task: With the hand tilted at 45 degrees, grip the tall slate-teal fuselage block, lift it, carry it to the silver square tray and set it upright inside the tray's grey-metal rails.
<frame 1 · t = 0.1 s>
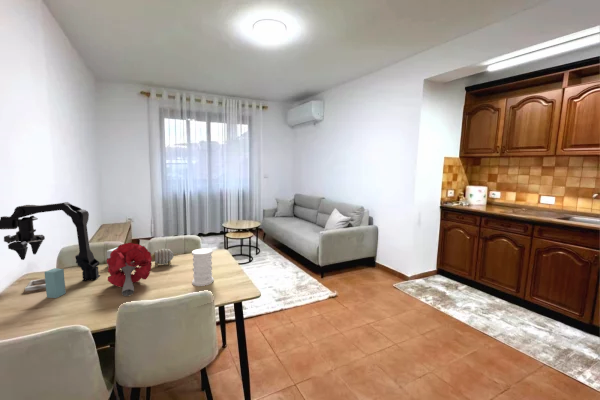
hand: (28, 256, 150), 15 cm above the table, tool pointing down, fingers open, 9 cm apart
decorative container: (203, 282, 158), on the table
fuselage block: (56, 295, 138), on the table
red model tree: (129, 286, 150), on the table
small box: (116, 265, 182), on the table
toy sheep: (163, 265, 183), on the table
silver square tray: (41, 286, 147), on the table
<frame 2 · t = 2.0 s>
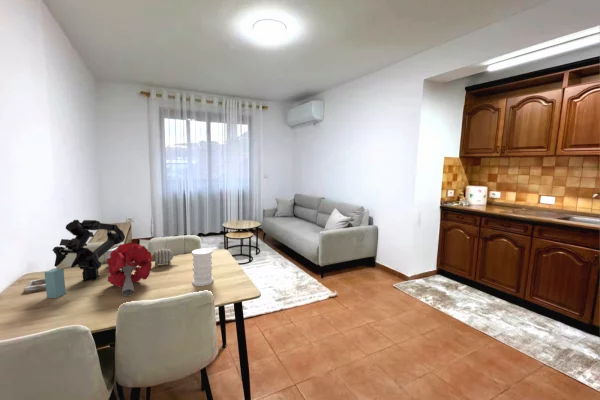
hand: (63, 266, 142), 13 cm above the table, tool tilted 45°, fingers open, 9 cm apart
nothing on the table moved.
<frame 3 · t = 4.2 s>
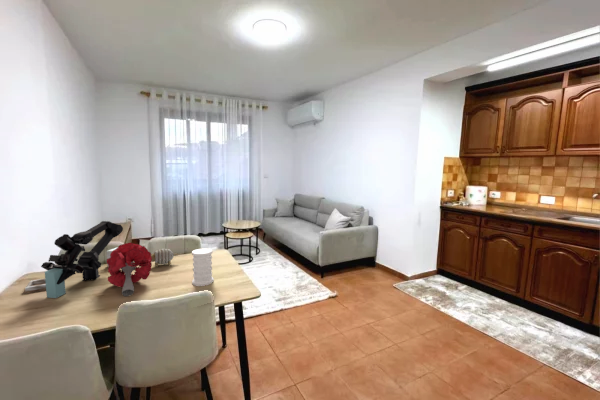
hand: (52, 283, 136), 7 cm above the table, tool tilted 45°, fingers closed on fuselage block, 5 cm apart
fuselage block: (56, 295, 138), on the table, touching gripper
everything else where it was.
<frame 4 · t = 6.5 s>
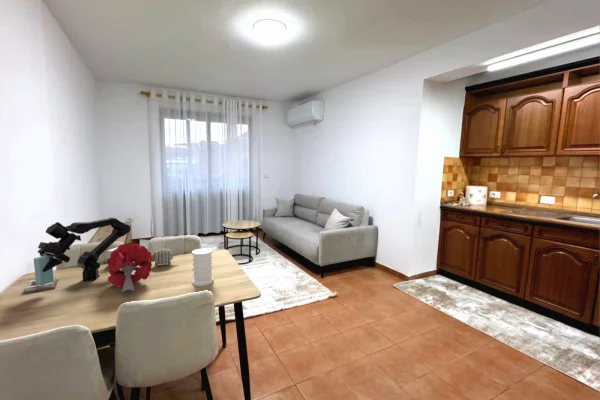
hand: (40, 270, 137), 13 cm above the table, tool tilted 45°, fingers closed on fuselage block, 5 cm apart
fuselage block: (44, 282, 139), point 6 cm above the table, touching gripper
everything else where it was.
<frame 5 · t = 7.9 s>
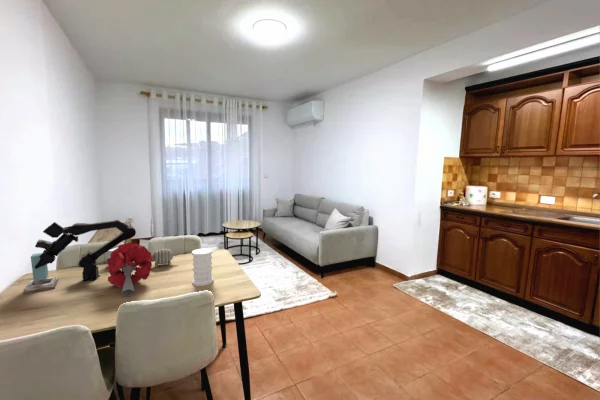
hand: (36, 266, 145), 11 cm above the table, tool tilted 45°, fingers closed on fuselage block, 5 cm apart
fuselage block: (41, 278, 147), point 5 cm above the table, touching gripper
everything else where it was.
when the fingers open (8 cm above the table, at t = 8.9 s): fuselage block stays where it is, resting on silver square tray.
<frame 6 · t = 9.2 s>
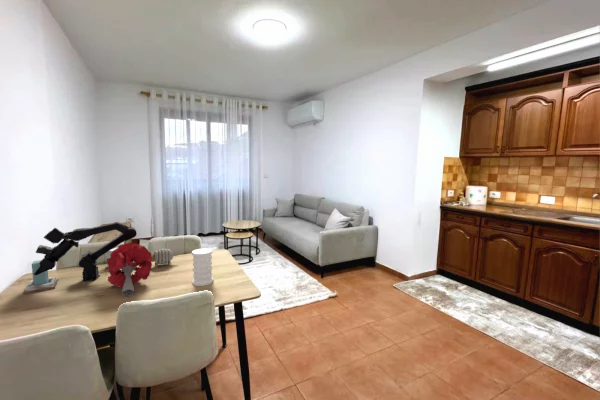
hand: (36, 272, 146), 8 cm above the table, tool tilted 45°, fingers open, 8 cm apart
fuselage block: (41, 285, 147), point 1 cm above the table, touching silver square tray
everything else where it was.
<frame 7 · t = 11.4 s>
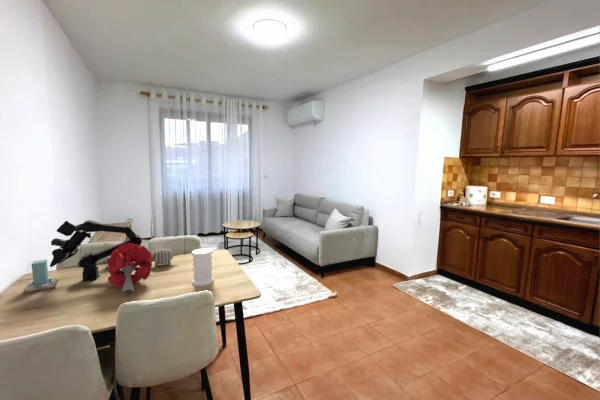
hand: (54, 264, 150), 11 cm above the table, tool tilted 40°, fingers open, 9 cm apart
nothing on the table moved.
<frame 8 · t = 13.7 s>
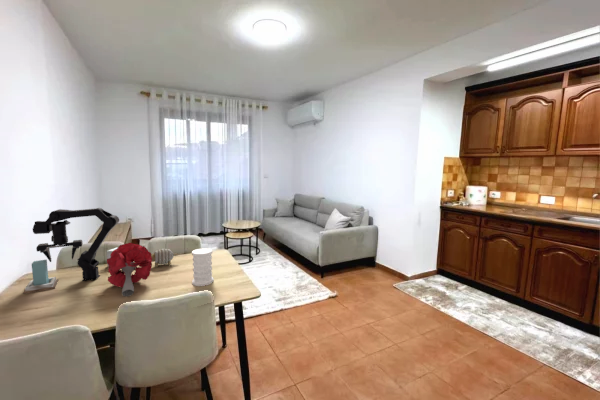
hand: (61, 260, 154), 12 cm above the table, tool pointing down, fingers open, 9 cm apart
nothing on the table moved.
at the end: fuselage block 0.0 cm off-centre on the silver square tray, point 0.8 cm above the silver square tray's base; fuselage block tilted 0°; the gripper is holding nothing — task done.
